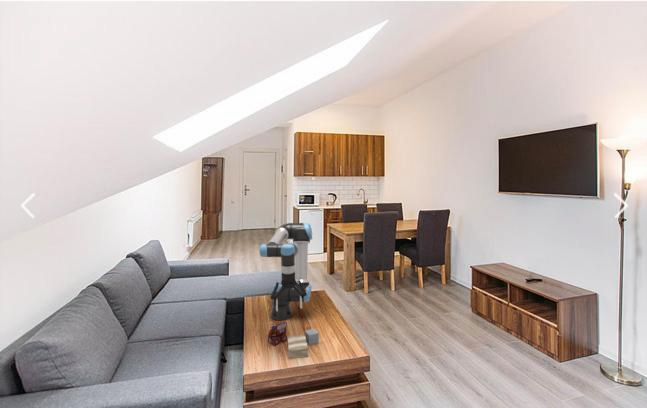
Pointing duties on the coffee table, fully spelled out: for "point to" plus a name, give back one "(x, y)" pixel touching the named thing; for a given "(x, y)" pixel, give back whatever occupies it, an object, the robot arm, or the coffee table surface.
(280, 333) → the toy fire truck
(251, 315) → the coffee table surface
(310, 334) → the slate cube
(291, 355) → the maple block
